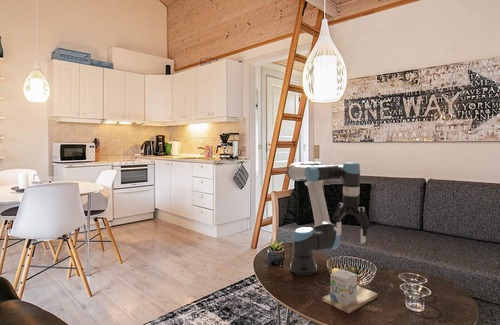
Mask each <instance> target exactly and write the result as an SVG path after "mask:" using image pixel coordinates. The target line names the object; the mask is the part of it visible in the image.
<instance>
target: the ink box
mask: <svg viewBox="0 0 500 325" xmlns="http://www.w3.org/2000/svg"><path fill="white" fill-rule="evenodd" d="M329 284H330V289H329V290H330V291H329V292H330V293H329V294H330V298H331V299H333V300H335V301H337V302H339V303H342V304H344V305H346V306H347V305H348V304H350V303H352V302H354V301H355V300H357V286H358V274H357V273H354V272H351V271H349V270H346V269H343V268H340V269H337V270H336V271H333V272H332V273H330V283H329Z"/></svg>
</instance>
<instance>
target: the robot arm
mask: <svg viewBox="0 0 500 325" xmlns="http://www.w3.org/2000/svg"><path fill="white" fill-rule="evenodd" d="M360 166H361V165H360V163H359V162H354V161H345V162H343V164H341V163H337V164H336V163H334V164H329V165H328V164H327V165H324V164H323V163H322V162H320V161H301V162H299V161H298V162H293V163H291V164H289V166H288V167H287V168H286V176H287V177H288V178H289V179H290V180H292V181H296V182H299V181H301V182H304V185H305V186H306V187H307V189H308V195H309V199H310V203H311V209H312V214H313V219H314V220H313V221H314V226H313V227H309V226H307V227H306V226H301V227H299V228H296V229H295V230H293V231H292V258H291V261H290V265H289V271H290V272H292V273H294V274H295V275H299V276H311V275H314V274H316V273H317V271H318V266H317V264H316V259H315V256H314V255H315V254H314V253H315V252H319V251H331V250H335V249H338V247H339V246H340V243H341V235H342V219H343V218H344V217H345V216H346V215H350V216H353V217H354V218H355V219H356V220H357V222H358V224H359V225H360V227H361V229H360V244H364V243H366V238H367V237H366V236H368V230H369V229H372V225H371V222H370V220H369V217H368V214H367V211H366V207H365V206H360V189H361V188H360V187H361V186H360V181H361V168H360ZM324 181H342V202H337V207H336V209H335V211H334V213H333V216H332V218H331V220H332V221H334V222H335V224H333V223H332V222H331V220H330V215H329V211H328V206H327V201H326V197H325V193H324V189H323V187H324V186H323V183H324ZM334 225H335V226H334Z"/></svg>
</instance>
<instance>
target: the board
mask: <svg viewBox="0 0 500 325" xmlns="http://www.w3.org/2000/svg"><path fill="white" fill-rule="evenodd" d="M376 298H378V293H377V292H375V291H372V290H370V289H367V288H365V287H362V286H359V285H357V300H355V301H354V302H352V303H350V304H348V305H347V306H346V305H344V304H342V303H339V302H337V301H335V300H333V299H331V298H330V293H328V294H326V295H324V296H322V298H321V300H322V302H325V304H326V303H327V304H328V305H330V306H333V307H334V308H337V309H338V310H341V311H343V312H344V313H347V314H351V313H352V312H354V311H356V310H357V309H359V308H361V307H362V306H364V305H366V304H368V303H369V302H371V301H373V300H375V299H376Z"/></svg>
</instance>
